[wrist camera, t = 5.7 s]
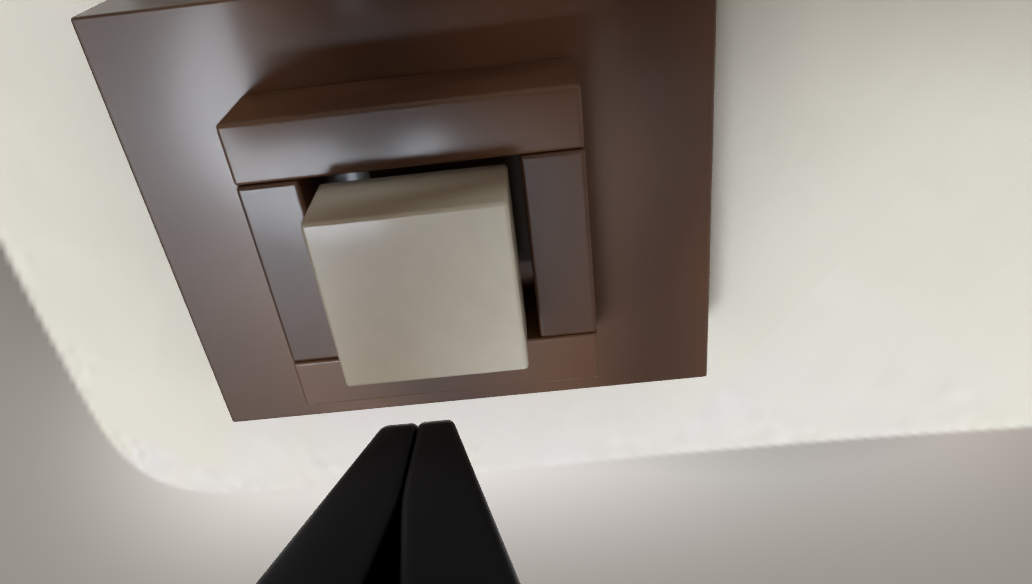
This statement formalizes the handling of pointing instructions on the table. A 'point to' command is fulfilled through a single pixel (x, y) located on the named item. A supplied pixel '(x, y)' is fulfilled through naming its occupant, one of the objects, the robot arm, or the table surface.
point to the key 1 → (419, 274)
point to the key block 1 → (422, 171)
